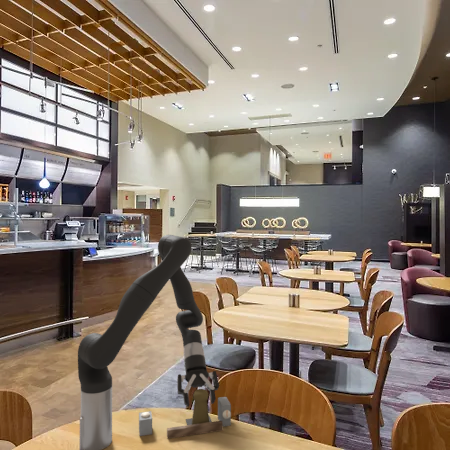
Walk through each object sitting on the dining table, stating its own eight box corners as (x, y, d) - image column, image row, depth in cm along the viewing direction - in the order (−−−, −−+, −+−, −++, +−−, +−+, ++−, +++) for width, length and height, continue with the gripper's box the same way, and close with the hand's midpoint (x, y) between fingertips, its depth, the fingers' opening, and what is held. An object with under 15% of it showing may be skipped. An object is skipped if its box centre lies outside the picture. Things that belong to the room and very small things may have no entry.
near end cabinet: (139, 435, 118) (139, 418, 118) (138, 427, 123) (138, 411, 123) (152, 434, 119) (152, 417, 119) (151, 426, 124) (151, 409, 124)
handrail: (167, 438, 116) (167, 430, 116) (166, 435, 118) (167, 428, 118) (222, 430, 121) (222, 422, 121) (221, 428, 123) (221, 420, 123)
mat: (189, 433, 119) (189, 432, 119) (185, 420, 128) (185, 419, 128) (214, 429, 122) (214, 428, 122) (209, 417, 130) (209, 415, 130)
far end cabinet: (222, 427, 123) (222, 406, 123) (217, 417, 129) (217, 397, 129) (231, 426, 124) (231, 405, 124) (226, 416, 130) (226, 396, 130)
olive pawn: (209, 418, 128) (209, 386, 128) (209, 427, 122) (209, 394, 122) (192, 418, 128) (192, 386, 128) (191, 428, 122) (191, 394, 122)
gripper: (176, 355, 130) (180, 402, 119) (215, 351, 134) (223, 397, 123) (174, 364, 135) (178, 411, 124) (211, 361, 139) (219, 406, 128)
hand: (200, 404), depth 124 cm, fingers open, 8 cm apart
